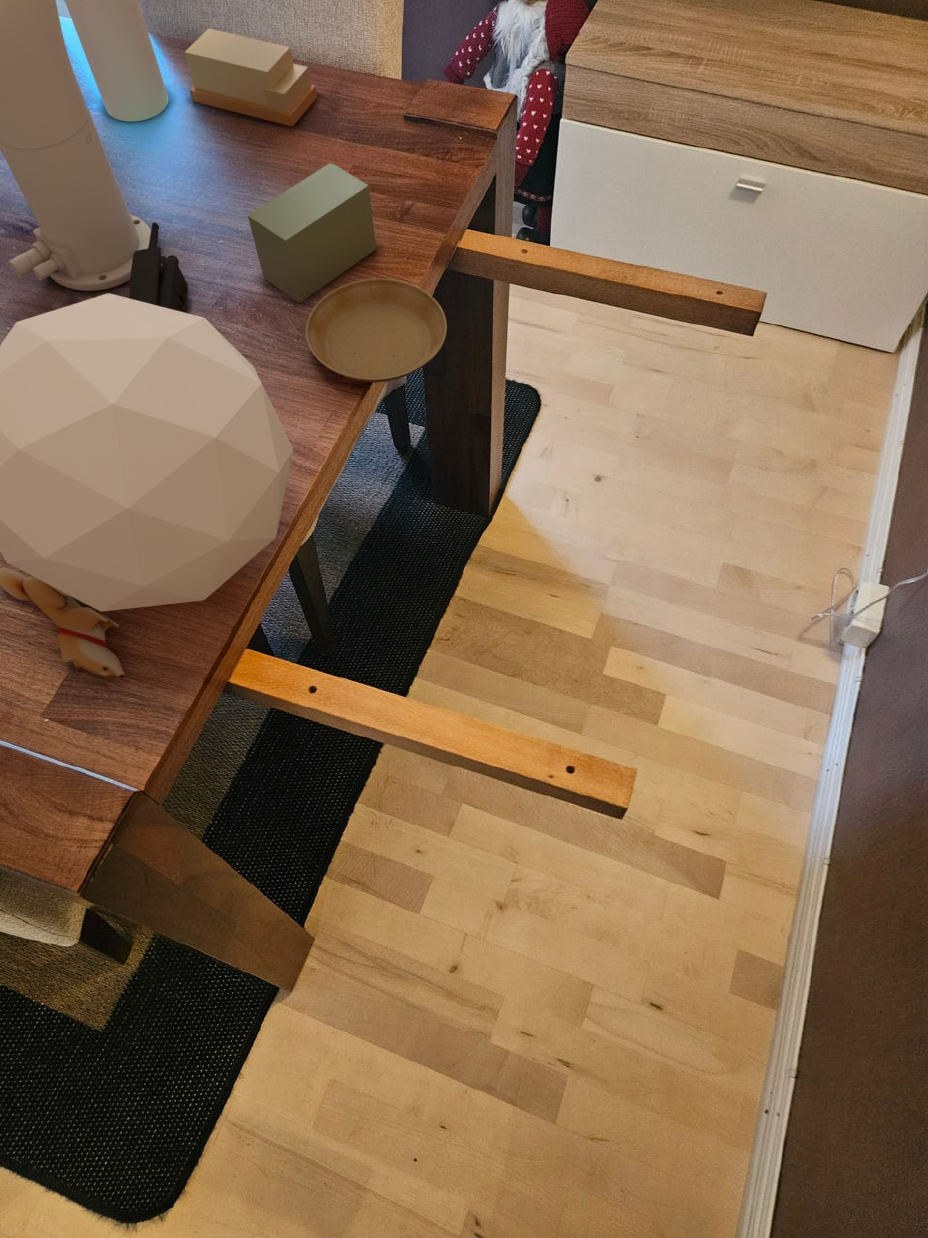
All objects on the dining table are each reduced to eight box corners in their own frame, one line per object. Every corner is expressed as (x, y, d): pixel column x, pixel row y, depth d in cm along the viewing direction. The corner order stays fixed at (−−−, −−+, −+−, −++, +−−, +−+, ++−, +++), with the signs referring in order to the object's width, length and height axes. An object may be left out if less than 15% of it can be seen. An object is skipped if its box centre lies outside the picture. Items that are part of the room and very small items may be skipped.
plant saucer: (472, 327, 91) (472, 307, 89) (400, 417, 85) (398, 398, 83) (359, 280, 95) (356, 261, 93) (282, 364, 89) (277, 345, 87)
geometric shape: (-103, 339, 67) (-139, 595, 55) (135, 163, 60) (156, 410, 48) (124, 486, 87) (136, 700, 74) (324, 366, 80) (373, 579, 68)
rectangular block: (299, 303, 93) (285, 240, 86) (263, 278, 95) (247, 214, 88) (376, 249, 97) (369, 185, 90) (340, 226, 99) (330, 161, 92)
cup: (175, 86, 113) (133, -54, 99) (159, 123, 109) (113, -18, 95) (116, 83, 113) (66, -57, 99) (97, 119, 110) (42, -21, 96)
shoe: (317, 97, 112) (309, 48, 106) (292, 126, 109) (283, 78, 103) (219, 73, 114) (207, 24, 109) (192, 101, 111) (178, 52, 106)
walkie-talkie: (189, 344, 87) (202, 213, 96) (128, 319, 83) (147, 186, 92) (169, 380, 91) (183, 251, 100) (110, 358, 88) (129, 227, 97)
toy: (157, 648, 72) (123, 698, 72) (23, 559, 78) (-10, 604, 77) (136, 638, 69) (100, 689, 68) (-3, 546, 74) (-38, 593, 74)
